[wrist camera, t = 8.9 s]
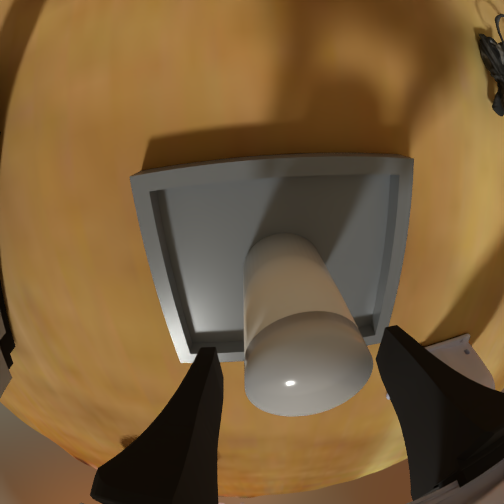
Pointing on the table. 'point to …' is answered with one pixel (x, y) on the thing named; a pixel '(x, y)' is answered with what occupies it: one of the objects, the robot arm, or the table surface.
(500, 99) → the headset
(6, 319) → the game console
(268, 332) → the cylinder
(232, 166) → the tray
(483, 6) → the table surface
